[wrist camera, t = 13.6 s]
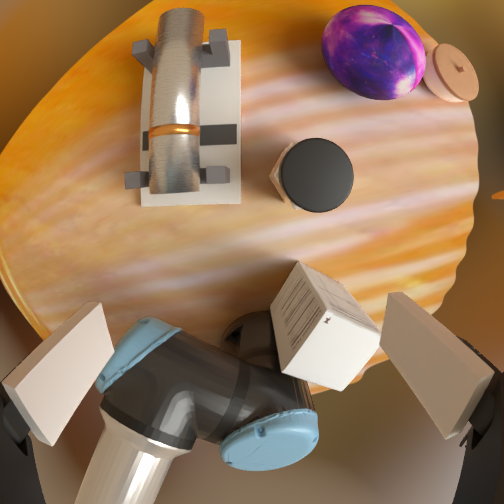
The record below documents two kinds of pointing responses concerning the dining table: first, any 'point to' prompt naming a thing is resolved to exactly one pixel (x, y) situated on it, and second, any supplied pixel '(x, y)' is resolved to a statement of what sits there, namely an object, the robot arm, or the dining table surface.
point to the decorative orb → (373, 52)
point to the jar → (313, 175)
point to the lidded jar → (450, 74)
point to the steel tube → (176, 103)
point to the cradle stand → (201, 126)
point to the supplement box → (321, 329)
